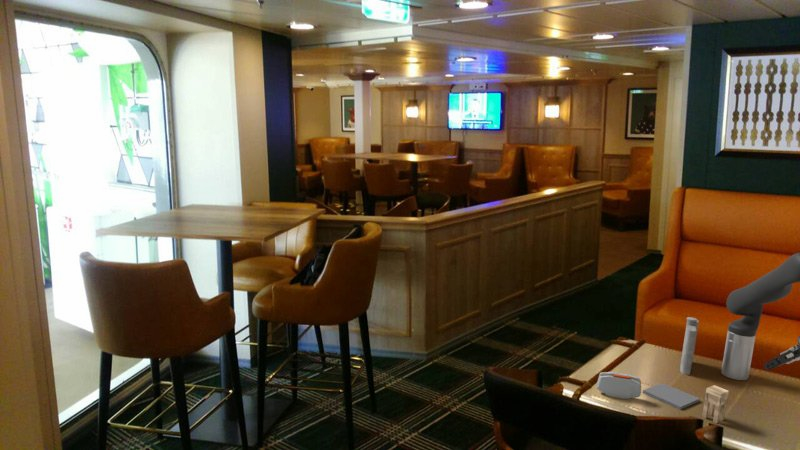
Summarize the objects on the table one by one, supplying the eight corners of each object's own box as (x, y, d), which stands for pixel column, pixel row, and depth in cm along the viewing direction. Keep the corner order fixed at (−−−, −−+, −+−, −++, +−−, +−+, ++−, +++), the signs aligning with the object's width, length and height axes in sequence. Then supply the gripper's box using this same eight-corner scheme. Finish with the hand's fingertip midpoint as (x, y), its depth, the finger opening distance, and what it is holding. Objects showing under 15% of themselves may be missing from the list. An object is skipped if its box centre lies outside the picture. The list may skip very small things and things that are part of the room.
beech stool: (709, 413, 206) (714, 385, 204) (724, 419, 202) (728, 390, 200) (701, 417, 203) (706, 388, 201) (716, 423, 199) (721, 394, 197)
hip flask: (689, 375, 235) (697, 325, 231) (677, 373, 237) (685, 323, 233) (692, 361, 249) (699, 314, 245) (681, 359, 251) (688, 311, 247)
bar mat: (662, 385, 225) (662, 382, 225) (699, 401, 214) (699, 398, 214) (642, 392, 218) (643, 390, 218) (680, 409, 207) (680, 406, 207)
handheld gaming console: (639, 398, 214) (642, 376, 213) (640, 401, 211) (643, 379, 210) (595, 390, 218) (598, 369, 216) (596, 394, 215) (598, 372, 214)
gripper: (823, 325, 181) (775, 348, 192) (802, 333, 173) (752, 357, 184) (841, 348, 178) (790, 371, 189) (819, 358, 169) (768, 381, 181)
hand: (772, 364), depth 186 cm, fingers open, 8 cm apart
